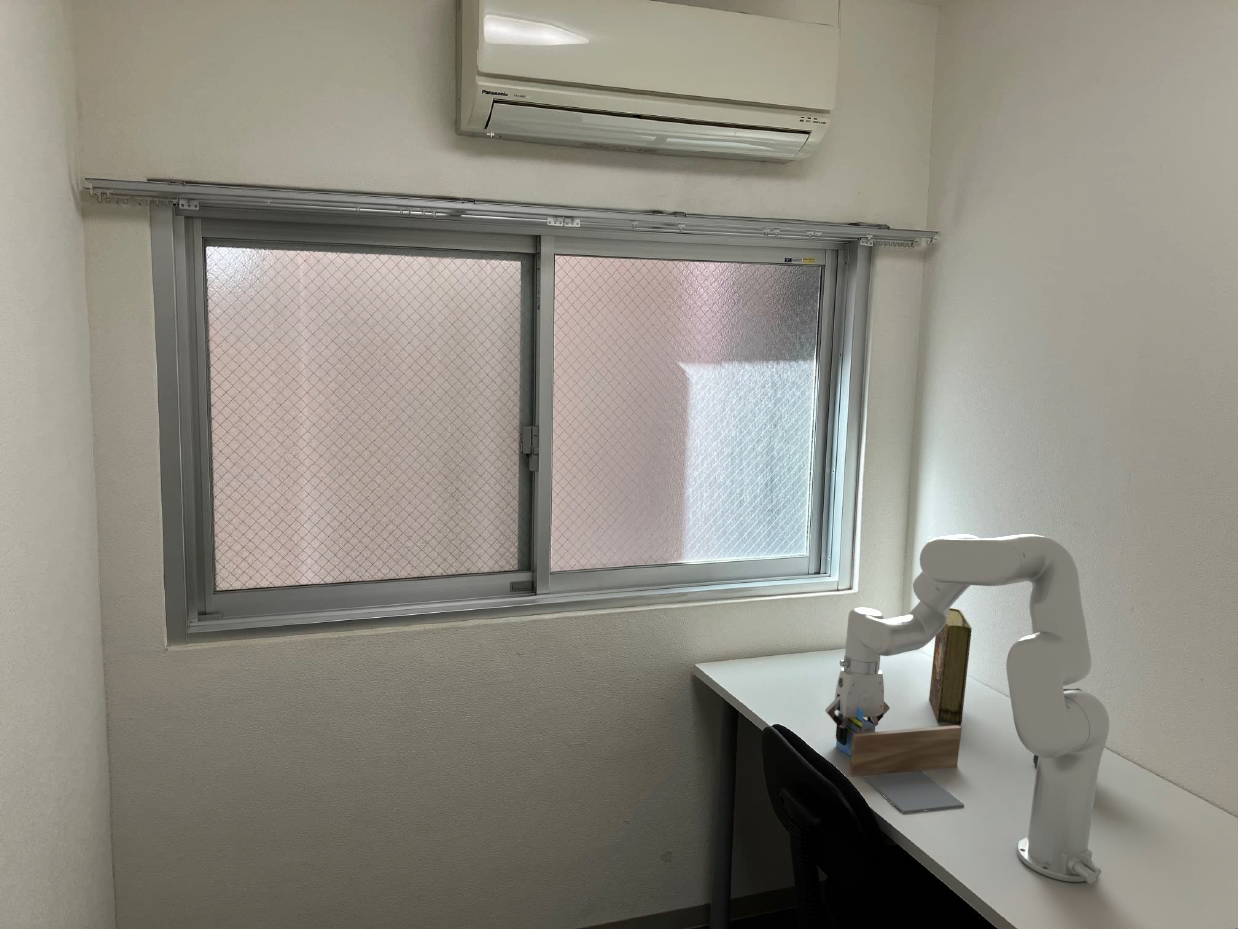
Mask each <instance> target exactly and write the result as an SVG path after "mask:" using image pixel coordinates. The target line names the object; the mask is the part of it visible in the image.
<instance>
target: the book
mask: <svg viewBox="0 0 1238 929" xmlns="http://www.w3.org/2000/svg"><path fill="white" fill-rule="evenodd" d="M972 631H973V630H972V626H971V625H970V623H969V621H968V619H966V617H965V615H964V614H963V611H961V609H956V608H951V607H950V612H949V616H948V619H947V622H946V624H945V626H944V627H943V628H942V630H941V631H940V632H939V633H938V634H937V635H936V636H935V637H934V638H935V639H934V647H933V658H932V659H933V660H932V668H931V676H930V685H929V686H930V687H929V696H928V701H929V704H930V708H931V711H932V712H933V715H934V717H935V720H936V722H937V723H943V722H945V723H953V724H955V725H958V726H962V722H963V715H964V714H963V713H964V707H965V706H964V703H965V695H966V687H967V676H968V667H969V659H970V658H969V657H970V649H971V648H970V647H971V641H972V640H971V638H972Z"/></svg>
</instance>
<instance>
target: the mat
mask: <svg viewBox="0 0 1238 929" xmlns="http://www.w3.org/2000/svg"><path fill="white" fill-rule="evenodd" d="M863 778H864V780H865V781H866V782H867V783H868V784H869V785H870V786H872V787H873V788H874V789H875V790H876V791H877V790H878V791H879V792H880V793H881V794H880V793H879V792H878V791H877V792H878V793H879V794H880V795H882V796H883V795H884V796H885V797H886V798H887V799H888V800H889V801H890V802H892V803H891V805H893V804H894V805H895V806H896V807H897V808H898V809H899V810H900V811H899V810H898V809H897V808H896V807H895V806H894V805H893V806H894V807H895V808H896V809H897V810H898V811H899V812H900V813H902V812H903V813H902V814H908V813H907V812H912V813H918V812H919V811H921V812H925V811H924V810H930V811H938V809H939V810H947V809H955V808H956V807H957V808H964V807H965V804H964V803H963V802H961V801H960V800H959V799H958V798H957V797H956V796H954V795H953V794H951V793H950V792H949V791H948V790H947V789H945V788H944V787H942V785H940V784H939V783H938V782H936V781H935V780H934V779H933V778H931V777H930V776H928V774H926V773H925V772H924V771H923V770H917V771H907V772H896V773H886V774H875V775H865V776H864V777H863ZM884 796H883V797H884ZM885 797H884V798H885ZM886 798H885V799H886ZM887 799H886V800H887ZM888 800H887V801H888ZM889 801H888V802H889ZM890 802H889V803H890ZM905 812H906V813H905ZM919 813H920V812H919Z"/></svg>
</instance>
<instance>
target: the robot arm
mask: <svg viewBox="0 0 1238 929" xmlns="http://www.w3.org/2000/svg"><path fill="white" fill-rule="evenodd" d="M919 566H920V569H921V572H920V574H918V575H917V577H916V578H915V579H914V581H913V584H912V588H913V590H912V591H913V592H914V595H915V596H916V597H917V599H918V600H919V602H918V603H917V605H915V607H914V608H912V610H911V611H909V613H908V614H906V615H901V616H896V617H895V616H894V617H890V618H884V615H883V614H882V612H881V611H879V610H877V609H874V608H870V607H854V608H853V609H852V608H851V610H850V611H849V613H848V618H847V627H846V628H847V630H846V638H845V650H844V651H845V652H844V658H843V659H841V660H839V665H840V667H841V669H840V672H839V675H838V679H837V683H836V688H835V694H834V700H833V701H831V703H830V704H829V705H828V706H827V707H826V708H825V713H826V714H827V716H829V717H830V719H831V720H832V721H833V722H834V723H835V724H836V731H835V739H836V741H838V742H839V743H840V744H842V745H846V741H847V728H846V727H845V726H846V724H847V722H848V720H849V718H857V716H858V709H859V708H861V709H862V710H864V713H863V718H866V720H867V721H869V722H870V723H872V724H873V725H875V727H877V726H879V722H880V721H881V720H882V718H883V717H884V715H886V713H887V712H889V710H890V706H889V705H888V703H886V701H885V682H884V675H883V671H882V670H880V666H881V665H880V663H881V656H882V657H891V656H895V655H896V656H897V655H900V654H903V653H908V652H914V651H917V650H920V649H921V648H924V647H925V646H927V645H928V644H929V643H930V642H931V641H933V639H934V638H935V636H936V635H937V634H938V633H939V632H940V631H941V630H942V628H943V627H944V626H945V624H946V622H947V619H948V616H949V612H950V608H951V607H952V606H953V605H954V604H955V603H956V602H957V600H958V599H959V598H960V597H961V596H962V595H963V594H964V593H965V591H967V589H969V587H971V586H979V587H980V586H983V587H1000V586H1007V585H1014V584H1018V583H1023V582H1029V583H1031V584H1032V586H1031V587H1032V588H1031V592H1030V597H1029V615H1030V618H1031V627H1032V628H1031V630H1032V631H1031V632H1032V634H1031V635H1027V636H1026V635H1025V636H1024V637H1022V638H1019V639H1018V640H1017V641H1015V642H1014V643H1013V644H1012V645H1011V647H1010V649H1009V651H1008V654H1007V656H1006V657H1007V658H1006V666H1005V668H1006V669H1005V670H1006V678H1007V683H1008V691H1009V696H1010V697H1009V698H1010V703H1011V710H1012V716H1013V717H1012V718H1013V721H1014V722H1013V723H1014V727H1015V731H1016V734H1017V736H1018V738H1019V740H1020V742H1021V744H1022V745H1023V746H1024V747H1025V748H1026V750H1028V751H1029V752H1030V753H1032V754H1033V755H1034V754H1035V755H1037V756H1039V757H1038V762H1037V767H1036V770H1035V779H1034V787H1033V794H1032V803H1031V810H1030V811H1031V812H1030V818H1029V827H1028V835H1027V837H1025V838H1022V839H1021V840H1019V841H1018V843H1017V844H1016V845H1017V846H1016V854H1017V856H1018V858H1019V859H1020V860H1021V861H1022V862H1023V863H1024V864H1025V865H1026V866H1027V867H1028V868H1030V869H1031V870H1033V871H1035V872H1037V873H1039V874H1040V875H1041V874H1042V875H1043V876H1046V877H1048V878H1051V879H1055V880H1058V881H1062V882H1063V881H1064V882H1071V883H1080V882H1082V883H1083V882H1087V884H1093V883H1095V882H1096V880H1097V877H1099V876H1101V874H1102V869H1101V868H1099V867H1098V866H1097V865H1096V864H1095V862H1094V859H1092V857H1093V851H1092V850H1090V849H1089V842H1090V841H1089V840H1090V835H1091V834H1090V832H1091V825H1092V818H1093V812H1094V804H1095V796H1096V789H1097V783H1098V782H1097V781H1098V778H1099V777H1098V775H1099V770H1100V763H1101V762H1102V760H1101V759H1102V756H1103V752H1104V751H1105V750H1104V749H1105V748H1106V743H1107V741H1108V740H1107V739H1108V736H1109V732H1110V731H1109V730H1110V718H1109V714H1108V711H1107V709H1106V707H1105V705H1104V704H1103V702H1101V701H1100V699H1098V698H1097V697H1096V696H1095V695H1093V694H1091V693H1090V692H1086V691H1084V690H1082V691H1079V690H1069V691H1063V689H1064V687H1066V686H1069V685H1072V684H1075V683H1078V682H1079V681H1082V680H1084V679H1085V678H1087V676H1088V675H1089V674H1090V672H1091V669H1092V656H1091V651H1090V650H1091V649H1090V644H1089V636H1088V632H1087V625H1086V620H1085V614H1084V610H1083V605H1082V604H1083V602H1082V597H1081V587H1080V578H1079V571H1078V568H1077V564H1076V561H1075V560H1074V558H1073V557H1072V555H1071V553H1070V552H1069V550H1067V549H1066V548H1065V546H1064V545H1062V544H1061V543H1059V542H1057V541H1056V540H1054V539H1052V538H1049V537H1047V536H1043V535H1040V534H1039V535H1038V534H1017V535H1016V534H1015V535H1009V536H1008V535H1007V536H1002V537H994V538H979V537H977V536H975V535H971V534H955V535H947V536H946V535H945V536H940V537H935V538H933V539H931V540H929V541H928V542H926V543H925V545H924V546H923V547H922V549H921V552H920V555H919ZM836 711H837V714H836ZM841 720H842V721H841Z"/></svg>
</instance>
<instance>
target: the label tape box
mask: <svg viewBox="0 0 1238 929" xmlns="http://www.w3.org/2000/svg"><path fill="white" fill-rule="evenodd" d="M863 713H864V710H862V709H861V708H859V709H858V716H857V718H849V720H848V722H847V724H846V726H845V727H846V728H847V741H846V745H842V744H840V743H839V742H838V741H837V740H836V744H835V746H836V747H837V748H838V749H840V750H841V751H842V752H843V753H845V754H847V755H848V756H849V757H851V750H852V739H853V734H855V733H867V732H876V726H875V725H873V724H872V723H870V722H869V721H867V718H865V717H863ZM841 721H842V720H841Z"/></svg>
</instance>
